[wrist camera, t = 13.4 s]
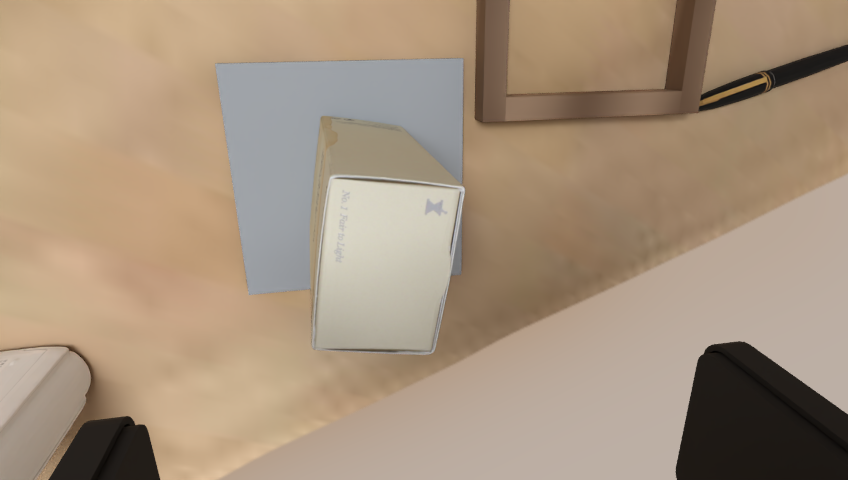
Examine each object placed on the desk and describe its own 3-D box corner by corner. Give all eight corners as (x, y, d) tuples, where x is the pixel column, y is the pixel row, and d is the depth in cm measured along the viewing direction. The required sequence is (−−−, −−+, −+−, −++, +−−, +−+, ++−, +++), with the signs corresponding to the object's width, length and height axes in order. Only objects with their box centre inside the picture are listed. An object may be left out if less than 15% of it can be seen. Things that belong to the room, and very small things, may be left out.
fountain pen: (891, 24, 32) (917, 22, 30) (890, 44, 32) (916, 44, 31) (675, 98, 31) (692, 100, 29) (677, 118, 31) (694, 121, 30)
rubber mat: (460, 58, 27) (463, 58, 27) (459, 271, 31) (461, 274, 31) (217, 63, 25) (215, 63, 25) (249, 290, 29) (248, 294, 29)
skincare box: (319, 113, 26) (323, 162, 15) (406, 125, 27) (470, 180, 16) (308, 232, 28) (304, 353, 17) (390, 239, 29) (436, 358, 18)
